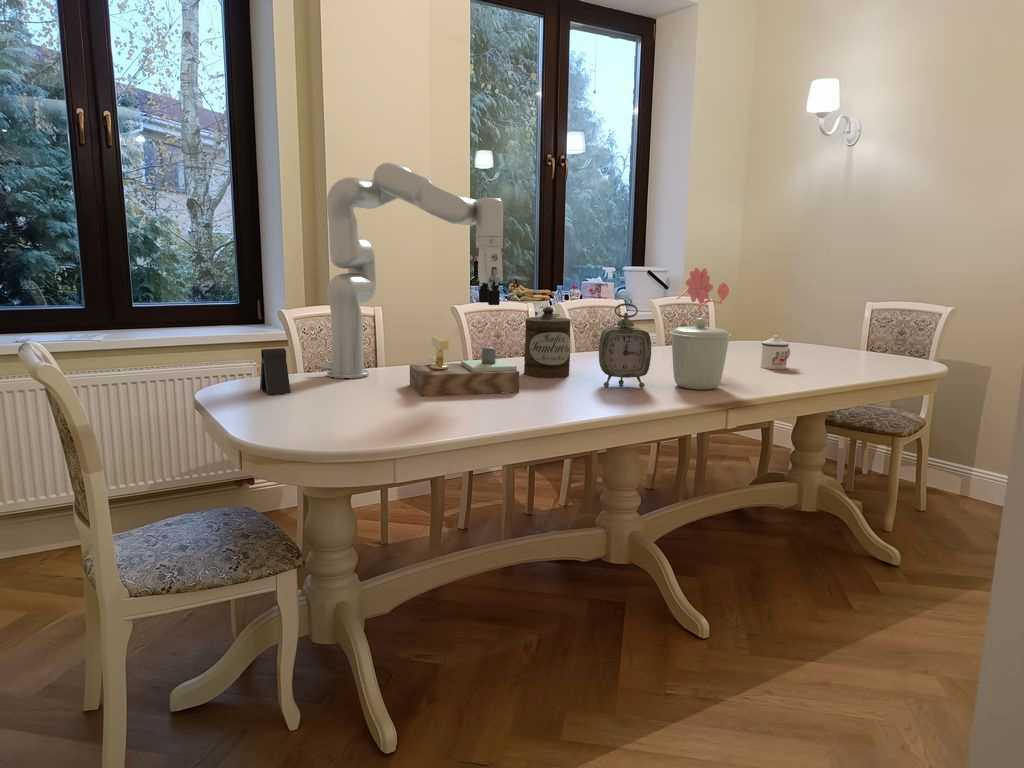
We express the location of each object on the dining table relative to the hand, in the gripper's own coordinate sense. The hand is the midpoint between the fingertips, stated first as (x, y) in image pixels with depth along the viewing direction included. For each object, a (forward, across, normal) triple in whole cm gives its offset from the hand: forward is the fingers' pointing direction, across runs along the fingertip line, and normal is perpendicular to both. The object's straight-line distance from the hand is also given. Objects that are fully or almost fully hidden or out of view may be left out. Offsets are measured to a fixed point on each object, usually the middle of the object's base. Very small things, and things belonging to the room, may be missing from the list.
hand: (488, 303), depth 213 cm
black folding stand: (+24, +6, +60) cm, 65 cm away
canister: (+25, -12, -63) cm, 68 cm away
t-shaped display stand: (+18, +3, +14) cm, 24 cm away
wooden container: (+25, +19, -25) cm, 40 cm away
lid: (+18, 0, 0) cm, 19 cm away
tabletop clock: (+25, -6, -40) cm, 48 cm away
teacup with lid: (+25, +16, -112) cm, 117 cm away
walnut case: (+24, 0, +8) cm, 26 cm away
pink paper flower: (+25, +23, -82) cm, 89 cm away
